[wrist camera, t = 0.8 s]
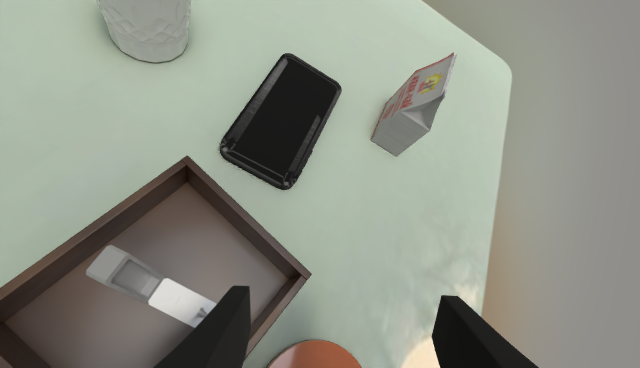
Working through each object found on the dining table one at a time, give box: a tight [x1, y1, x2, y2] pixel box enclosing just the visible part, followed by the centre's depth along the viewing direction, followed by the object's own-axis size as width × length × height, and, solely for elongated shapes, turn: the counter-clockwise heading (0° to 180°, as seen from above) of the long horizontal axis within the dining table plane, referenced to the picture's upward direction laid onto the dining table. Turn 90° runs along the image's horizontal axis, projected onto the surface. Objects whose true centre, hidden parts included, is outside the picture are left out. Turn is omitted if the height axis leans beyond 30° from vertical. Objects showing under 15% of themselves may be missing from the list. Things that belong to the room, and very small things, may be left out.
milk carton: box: [371, 53, 456, 157], centre depth 33 cm, size 4×7×10 cm, turn 155°
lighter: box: [86, 245, 216, 328], centre depth 19 cm, size 7×2×8 cm, turn 64°
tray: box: [0, 156, 312, 368], centre depth 21 cm, size 15×13×4 cm
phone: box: [220, 53, 342, 190], centre depth 32 cm, size 8×1×15 cm
